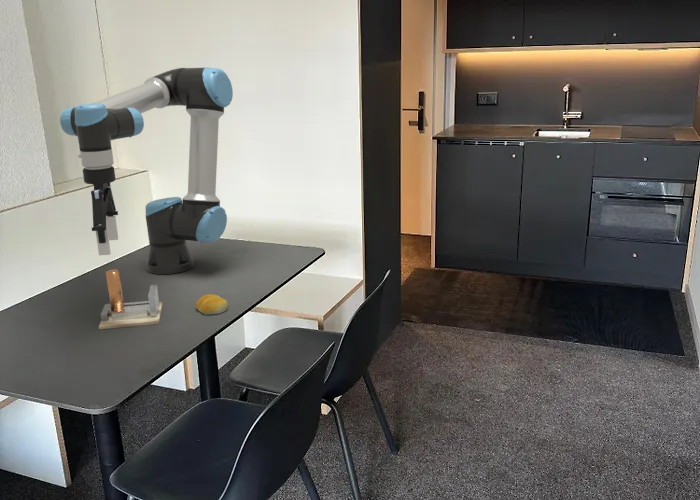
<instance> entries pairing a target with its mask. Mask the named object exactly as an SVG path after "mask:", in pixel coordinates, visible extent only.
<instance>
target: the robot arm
mask: <svg viewBox="0 0 700 500" xmlns="http://www.w3.org/2000/svg"><path fill="white" fill-rule="evenodd" d="M233 94H234V92H233V85H232V81H231V79H230V77H229V76H228V74H227V73H226V71H224V70H222V69H221V68H216V67H207V66H206V67H177V68H173V69H170V70H167V71H165V72H162V73H159V74H157V75H155V76H151V77H149V78H147V79H146V80H145V81H144V83H143V84H140V85H137V86H135V87H132V88H130V89H127V90H125V91H121V92H119V93H116V94H113V95H111V96H109V97H106V98H103V99H101V100H98V101H96V102H93V103H84V104H78V105H76V106H73V107H68V108H65V109H64V110H63V111H62V112H61V114H60V116H59V117H60V118H59V123H60V126H61V129H62V131H63V132H64V133H65V134H67V135H69V136H72V137H73V136H74V137H77V140H78V141H77V142H78V145H79V146H78V147H79V154H78V155H77V157H78V159H81V166H82V167H83V168H82V175H83V182H84V183H85V184H87V185H93V190H91V191H90V194H91V203H92V227H91V232H95V235H96V243H97V252H98V256H108V255H109V256H110V255H112V252H111V245H110V241H118V240H119V234H118V227H117V226H118V225H117V219H116V216H118V215H119V211H118V210H117V209H116V205H115V200H114V196H113V192H112V188H111V187H112V186H111V183H114V182H115V181H116V173H115V167H114V166H113V165H114V164H115V163H114V154H113V149H112V142H111V141H113V140H119V139H125V138H133V137H135V136H138V135H140V134H141V133H142V132H143V130H144V128H145V121H144V116H143V115H142V114H144V113H146V112H148V111H150V110H153V109H155V108H156V109H164V108H165V107H166V108H167V107H170V106H171V107H172V106H180V107H182V106H185V111H186V112H187V113H188V114H189V116H190V125H189V126H190V129H189V153H188V155H189V158H188V174H187V175H188V176H187V177H188V179H187V181H188V182H187V194H186V195H185V196H184V197H182V198H181V197H179V196H171V197H163V198H158V199H155V200H151V201H149V202H148V203H147V204H146V205H145V206H144V207H145V215H144V216H145V221H146V222H145V223H146V229H147V235H148V244H149V249H148V253H147V257H146V261H145V266H146V271H147V272H148V273H150V274H153V275H154V274H155V275H174V274H179V273H183V272H186V271H188V270H190V269H191V268H193V267H194V265H195V264H194V258H193V255H192V253H191V251H190V249H189V247H188V245H187V242H186V241H193V242H199V243H214V242H216V241H218V240H219V239H220V238H221V237H222V236H223V234H224V232H225V231H226V228H227V222H228V216H227V213H226V210H225V208H223V207H222V206H221V200H220V199H219V197H218V196H217V195H216V193H217V192H216V191H217V168H218V167H217V166H218V147H219V145H218V144H219V124H220V123H219V121H220V118H221V117H222V116H224V115H225V108H227V107H228V106H230V105H231V102H232V101H233Z"/></svg>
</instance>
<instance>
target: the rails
mask: <svg viewBox="0 0 700 500" xmlns="http://www.w3.org/2000/svg"><path fill="white" fill-rule="evenodd" d="M146 304H149V300H145V301H135V302H124V306H134V305H146ZM111 312H112V311H111V305H110V303H105V304H104V305H103V308H102V309H101V313H100V319H101V320H102V321H108V320H109V317H110V315H111ZM145 317H148V310H147V309H146V310H135V311H124V312H113V313H112V319H113V320H124V319H134V318H145ZM101 320H100V321H101Z"/></svg>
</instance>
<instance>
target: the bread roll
mask: <svg viewBox="0 0 700 500" xmlns="http://www.w3.org/2000/svg"><path fill="white" fill-rule="evenodd" d="M228 303H229V302H228V301H227V300H226V299H224V298H222V297H220V296H219V295H217V294H215V293H214V294H213V293H208V294H205V295H202V296H201V297H200V298H199V299H198V300H197V301H196V303H195V308H196V309H197V310H198V312H200V313H202V314H203V315H206V316H210V315H212V316H213V315H219V314H222V313H225V312H226V310H227V309H228V308H229V306H228V305H229V304H228Z"/></svg>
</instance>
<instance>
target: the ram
mask: <svg viewBox="0 0 700 500" xmlns="http://www.w3.org/2000/svg"><path fill="white" fill-rule="evenodd" d="M105 276H106V282H107V283H106V284H107V290H108V295H109V304H110V305H111V311H112V312H124V311H135V310H146V309H147V310H148V314H150V315H151V316H157V313H158V308H159V302H160V299H159V293H158V284H151V285H150V287H149V291H148V294H147V298H148V301H149V304H146V305H134V306H124V303H125V302H124V295H123V288H122V280H121V273H120V269H114V268H113V269H109V270H106V271H105Z"/></svg>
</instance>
